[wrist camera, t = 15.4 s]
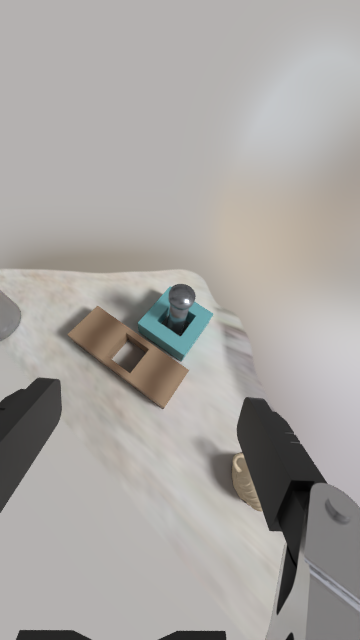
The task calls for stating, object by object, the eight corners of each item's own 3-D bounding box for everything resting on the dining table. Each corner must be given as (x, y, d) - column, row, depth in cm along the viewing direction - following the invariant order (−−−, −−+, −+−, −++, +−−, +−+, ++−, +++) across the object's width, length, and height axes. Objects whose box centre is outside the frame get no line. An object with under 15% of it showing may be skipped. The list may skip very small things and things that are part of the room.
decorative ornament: (246, 515, 31) (264, 531, 26) (219, 453, 34) (230, 458, 29) (268, 499, 32) (289, 512, 27) (240, 441, 35) (254, 444, 30)
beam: (74, 341, 39) (67, 334, 36) (101, 314, 42) (97, 305, 39) (163, 409, 36) (164, 407, 33) (185, 374, 39) (189, 370, 36)
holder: (138, 331, 41) (137, 322, 38) (168, 297, 46) (170, 286, 42) (181, 361, 40) (184, 355, 36) (208, 322, 44) (213, 313, 40)
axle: (160, 329, 42) (163, 297, 31) (172, 315, 44) (178, 279, 33) (177, 340, 41) (185, 311, 31) (188, 325, 43) (200, 293, 32)
